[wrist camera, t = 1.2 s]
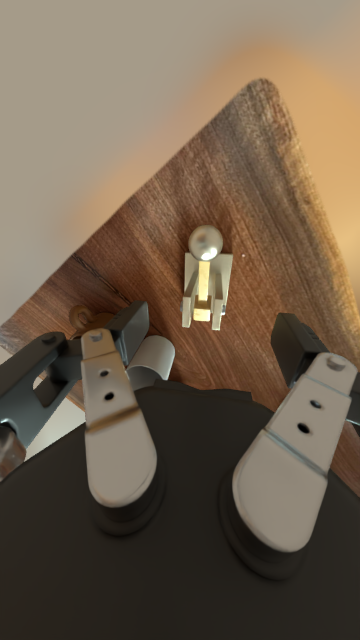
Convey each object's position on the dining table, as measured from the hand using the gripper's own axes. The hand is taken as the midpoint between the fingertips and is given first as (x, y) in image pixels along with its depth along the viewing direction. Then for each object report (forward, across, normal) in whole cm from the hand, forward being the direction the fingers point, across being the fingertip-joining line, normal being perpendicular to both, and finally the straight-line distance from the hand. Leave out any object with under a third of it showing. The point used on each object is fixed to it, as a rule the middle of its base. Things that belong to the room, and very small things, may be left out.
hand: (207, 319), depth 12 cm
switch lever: (+12, +1, 0) cm, 12 cm away
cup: (+24, +11, +23) cm, 35 cm away
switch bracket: (+24, +1, +6) cm, 25 cm away
